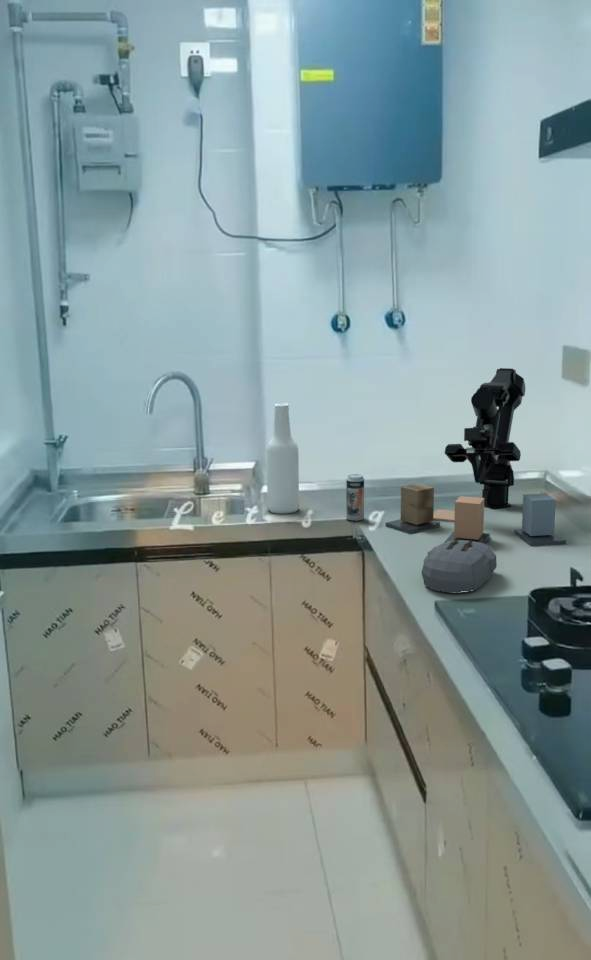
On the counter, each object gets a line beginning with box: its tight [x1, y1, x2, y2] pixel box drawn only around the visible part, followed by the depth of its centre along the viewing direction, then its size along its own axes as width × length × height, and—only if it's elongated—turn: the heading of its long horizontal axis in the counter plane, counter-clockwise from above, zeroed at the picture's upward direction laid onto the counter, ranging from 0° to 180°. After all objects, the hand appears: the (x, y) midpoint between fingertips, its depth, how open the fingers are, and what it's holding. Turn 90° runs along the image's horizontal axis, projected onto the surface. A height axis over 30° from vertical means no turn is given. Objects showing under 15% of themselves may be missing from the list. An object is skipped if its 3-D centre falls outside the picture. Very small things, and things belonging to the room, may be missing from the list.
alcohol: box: [265, 402, 300, 515], centre depth 259 cm, size 9×9×30 cm
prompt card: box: [433, 509, 455, 523], centre depth 253 cm, size 9×9×1 cm
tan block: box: [453, 495, 485, 540], centre depth 232 cm, size 6×6×9 cm
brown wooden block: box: [400, 482, 435, 525], centre depth 245 cm, size 6×6×9 cm
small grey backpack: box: [421, 540, 497, 593], centre depth 203 cm, size 15×8×20 cm
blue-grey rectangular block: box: [521, 493, 557, 536], centre depth 233 cm, size 6×6×9 cm
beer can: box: [345, 473, 365, 522], centre depth 251 cm, size 5×5×12 cm
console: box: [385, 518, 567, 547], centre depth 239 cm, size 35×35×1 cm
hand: (477, 482), depth 239 cm, fingers closed
